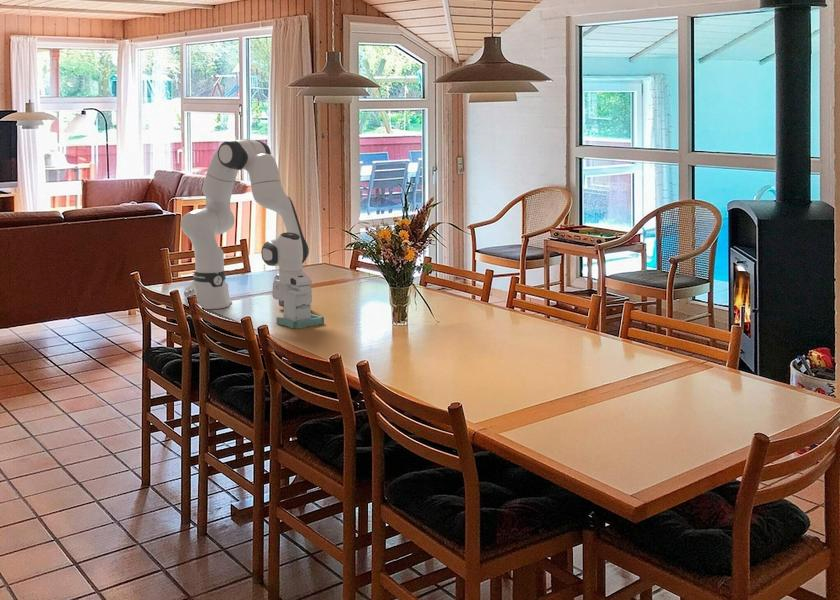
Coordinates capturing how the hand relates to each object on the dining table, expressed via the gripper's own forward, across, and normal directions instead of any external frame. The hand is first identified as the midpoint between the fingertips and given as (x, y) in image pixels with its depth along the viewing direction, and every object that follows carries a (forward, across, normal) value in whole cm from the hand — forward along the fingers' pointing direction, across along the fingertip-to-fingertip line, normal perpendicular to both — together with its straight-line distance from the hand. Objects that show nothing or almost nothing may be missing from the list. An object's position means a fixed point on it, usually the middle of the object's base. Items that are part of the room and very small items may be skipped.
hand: (291, 314), depth 347 cm
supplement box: (+3, +6, -2) cm, 7 cm away
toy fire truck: (+3, -17, +14) cm, 22 cm away
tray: (+3, +6, 0) cm, 6 cm away
